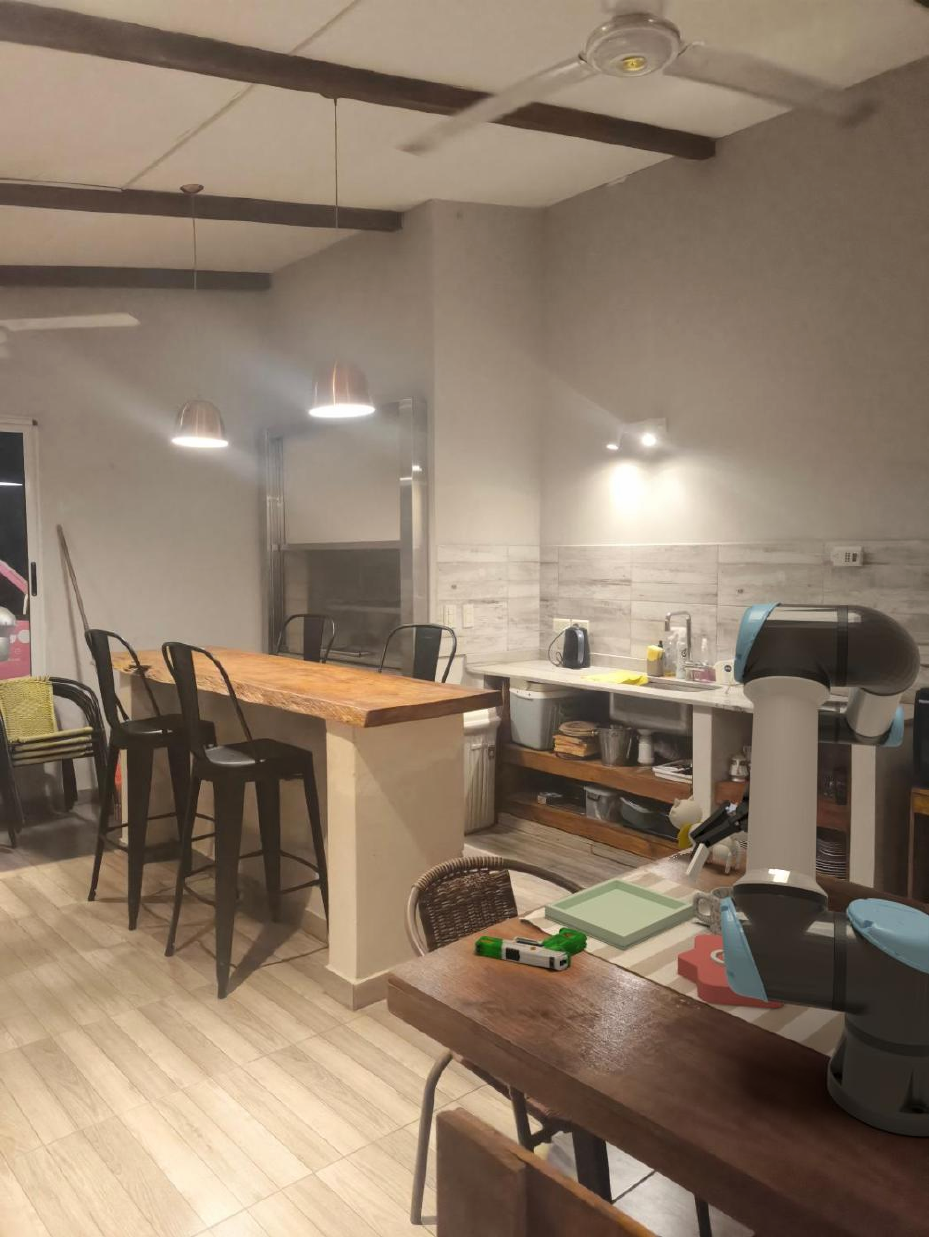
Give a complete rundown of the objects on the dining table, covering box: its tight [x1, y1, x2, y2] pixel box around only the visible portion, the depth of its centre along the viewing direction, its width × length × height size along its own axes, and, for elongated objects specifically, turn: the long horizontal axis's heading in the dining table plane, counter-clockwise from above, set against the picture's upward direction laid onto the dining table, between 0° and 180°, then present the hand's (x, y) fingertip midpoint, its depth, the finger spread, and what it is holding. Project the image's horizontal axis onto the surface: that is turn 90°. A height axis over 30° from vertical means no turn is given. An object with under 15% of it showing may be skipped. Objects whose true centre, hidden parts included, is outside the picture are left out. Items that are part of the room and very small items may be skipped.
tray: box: [544, 877, 695, 951], centre depth 169 cm, size 20×18×2 cm
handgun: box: [474, 926, 588, 971], centre depth 156 cm, size 3×16×12 cm
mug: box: [692, 886, 733, 936], centre depth 163 cm, size 10×7×7 cm, turn 56°
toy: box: [668, 794, 748, 875], centre depth 193 cm, size 9×19×15 cm, turn 40°
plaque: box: [677, 933, 784, 1009], centre depth 146 cm, size 18×4×15 cm
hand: (722, 888), depth 164 cm, fingers open, 13 cm apart
